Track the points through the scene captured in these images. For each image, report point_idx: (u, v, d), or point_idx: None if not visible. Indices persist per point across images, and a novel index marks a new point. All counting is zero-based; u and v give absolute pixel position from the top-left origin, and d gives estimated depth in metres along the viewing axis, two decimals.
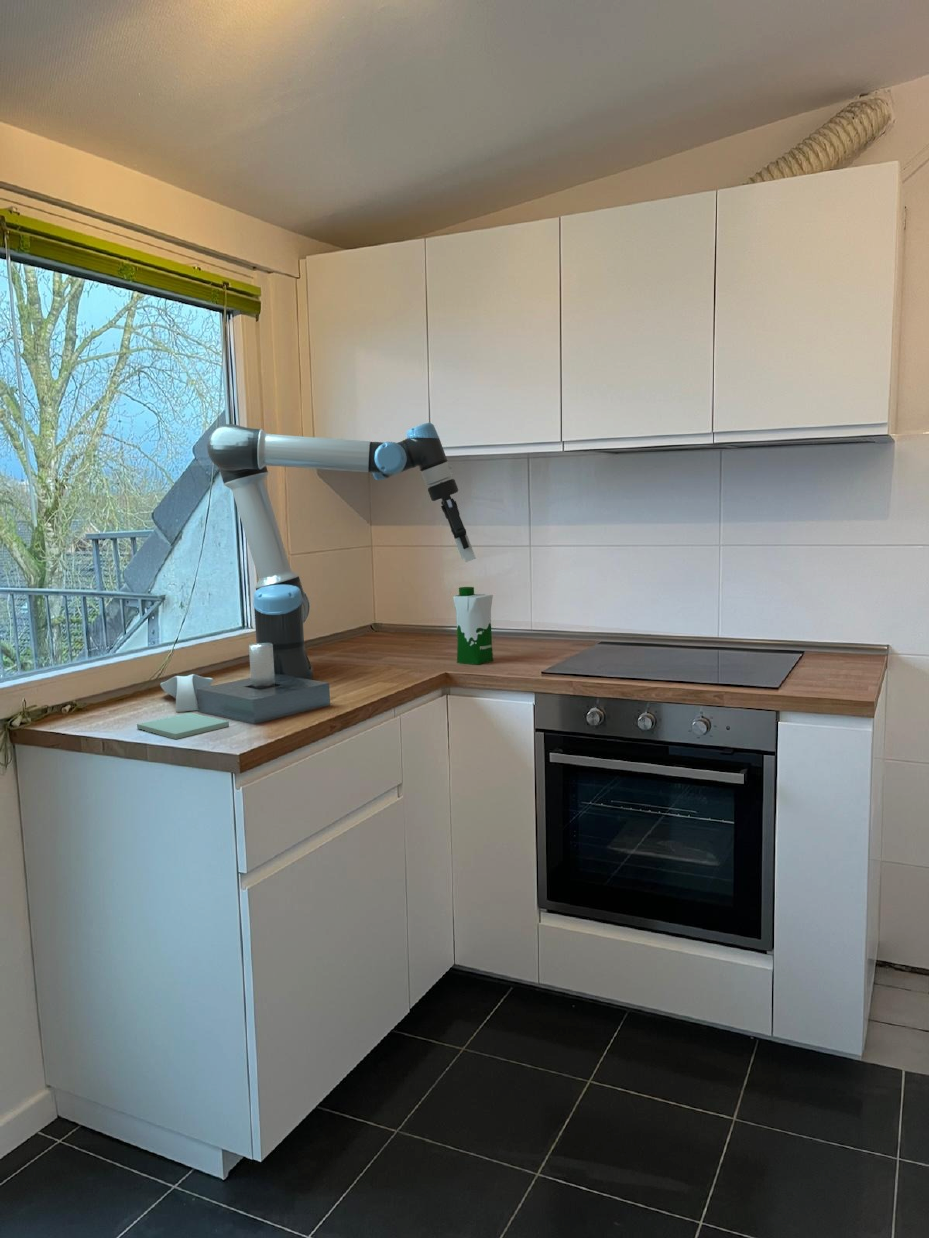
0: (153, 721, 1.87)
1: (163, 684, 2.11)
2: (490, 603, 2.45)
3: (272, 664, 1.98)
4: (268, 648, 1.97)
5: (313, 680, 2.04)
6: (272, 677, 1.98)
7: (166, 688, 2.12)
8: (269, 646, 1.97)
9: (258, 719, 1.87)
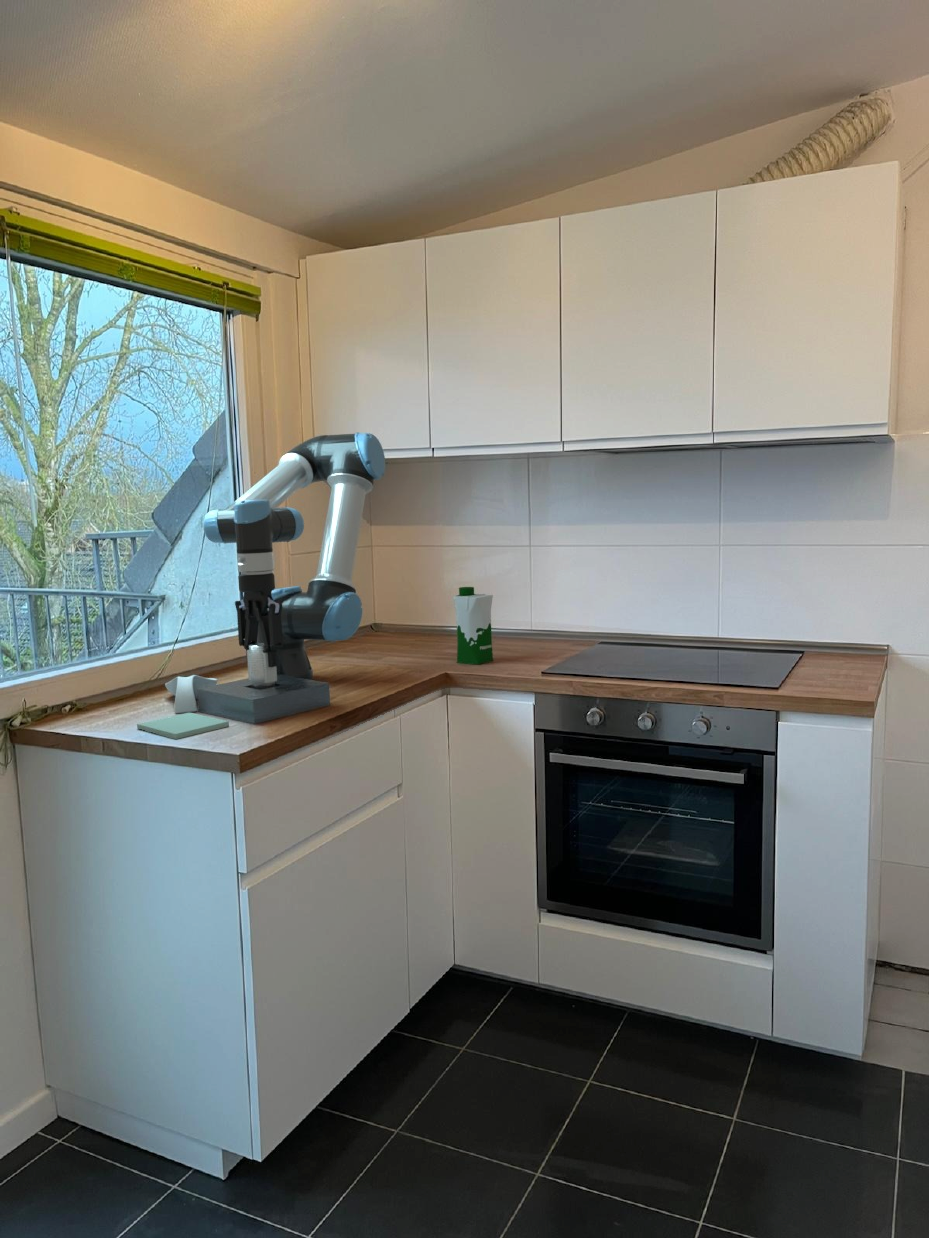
0: (153, 721, 1.87)
1: (167, 684, 2.11)
2: (490, 603, 2.45)
3: None
4: None
5: (313, 680, 2.04)
6: None
7: (170, 689, 2.11)
8: None
9: (258, 719, 1.87)
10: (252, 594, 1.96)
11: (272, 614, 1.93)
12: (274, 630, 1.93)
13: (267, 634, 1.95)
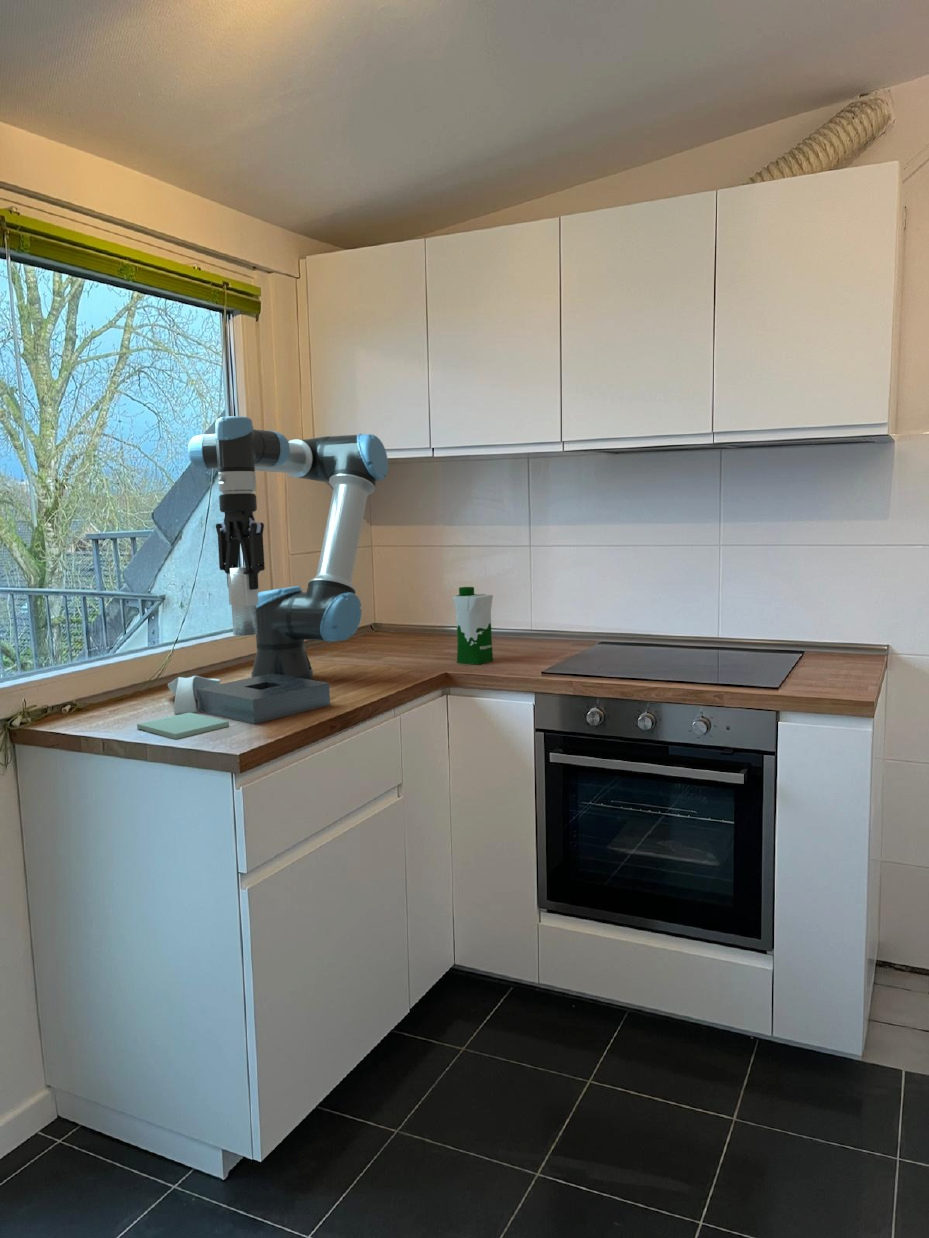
0: (153, 721, 1.87)
1: (169, 685, 2.10)
2: (490, 603, 2.45)
3: None
4: None
5: (313, 680, 2.04)
6: None
7: (172, 689, 2.10)
8: None
9: (258, 719, 1.87)
10: (233, 515, 1.91)
11: (253, 534, 1.88)
12: (255, 550, 1.88)
13: (248, 556, 1.90)
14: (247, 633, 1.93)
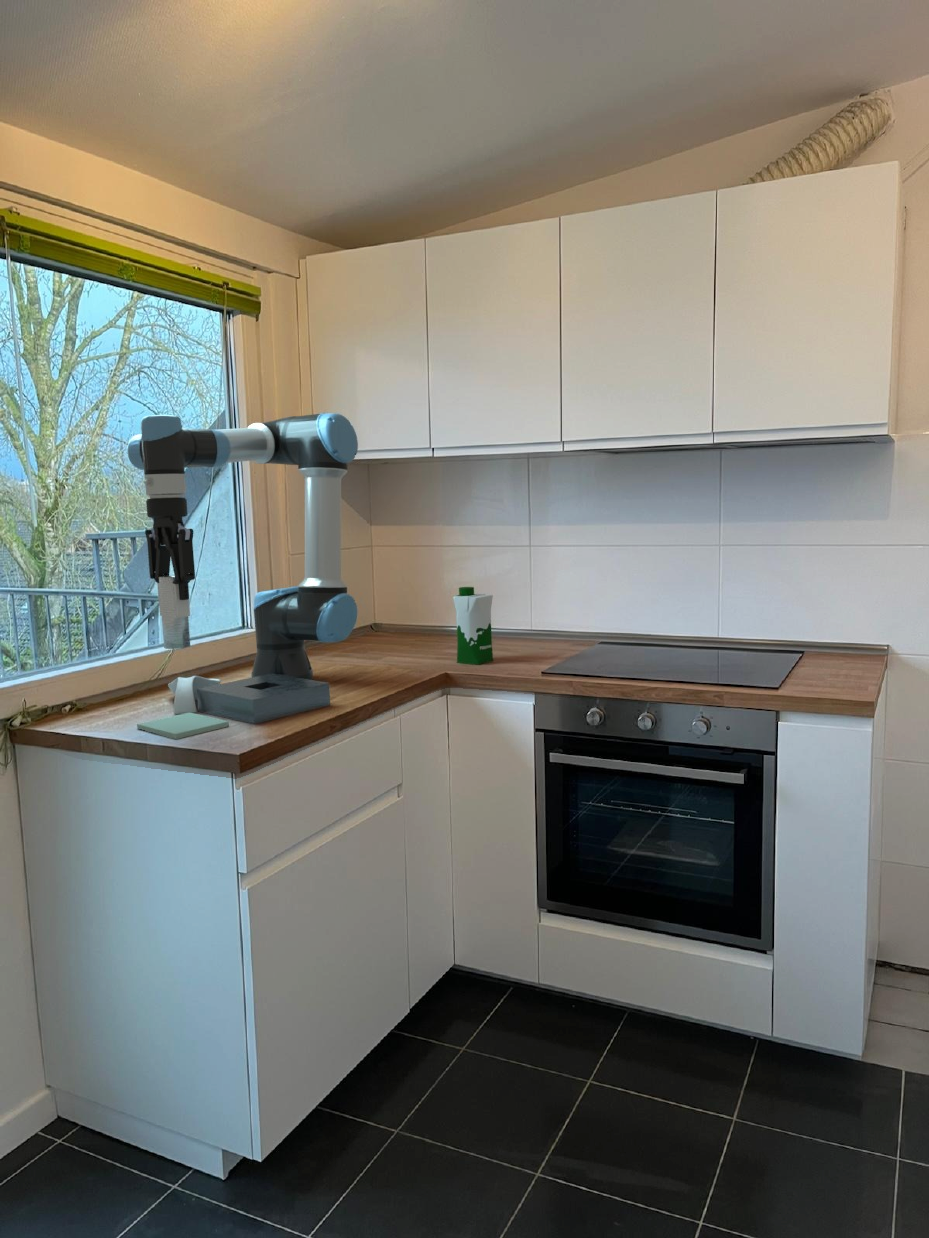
0: (153, 721, 1.87)
1: (169, 685, 2.10)
2: (490, 603, 2.45)
3: None
4: None
5: (313, 680, 2.04)
6: None
7: (172, 689, 2.10)
8: None
9: (258, 719, 1.87)
10: (162, 520, 1.79)
11: (182, 541, 1.76)
12: (184, 559, 1.76)
13: (178, 564, 1.78)
14: (178, 646, 1.81)
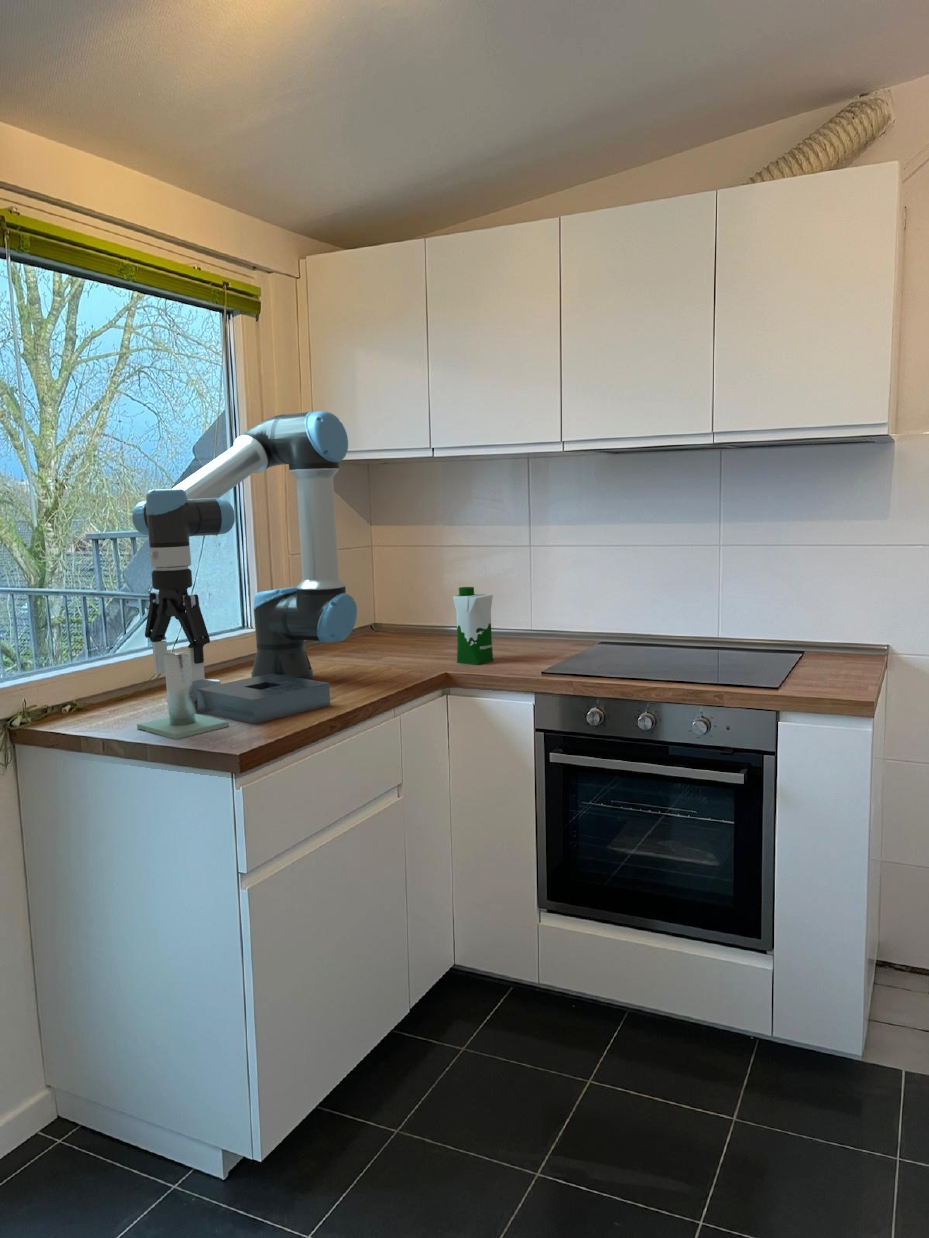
0: (153, 721, 1.87)
1: None
2: (490, 603, 2.45)
3: None
4: (184, 657, 1.82)
5: (313, 680, 2.04)
6: (190, 688, 1.83)
7: None
8: (185, 655, 1.82)
9: (258, 719, 1.87)
10: (167, 592, 1.81)
11: (189, 607, 1.77)
12: (195, 623, 1.76)
13: (189, 629, 1.78)
14: (184, 723, 1.83)
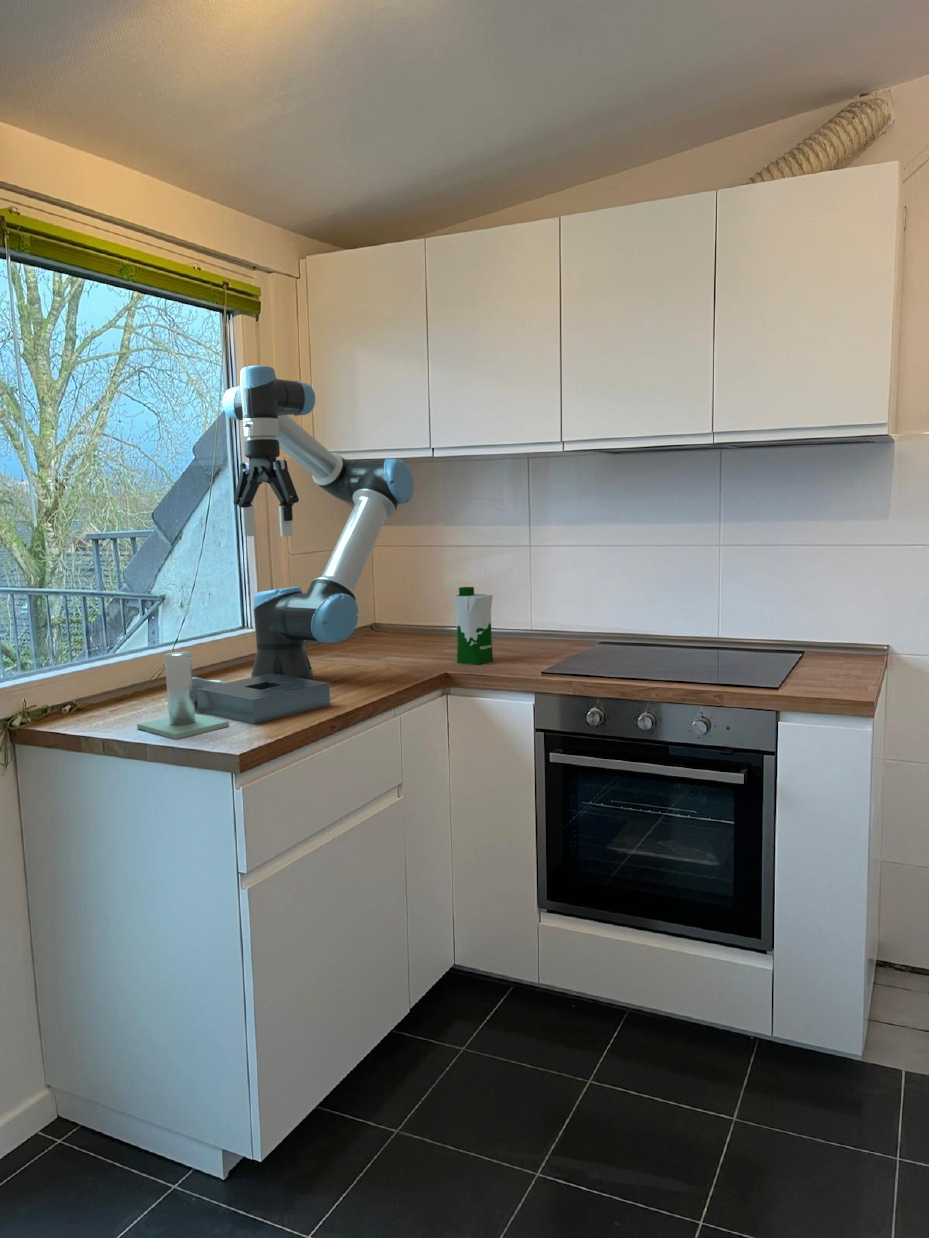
0: (153, 721, 1.87)
1: None
2: (490, 603, 2.45)
3: (190, 674, 1.83)
4: (185, 657, 1.82)
5: (313, 680, 2.04)
6: (190, 689, 1.83)
7: None
8: (186, 655, 1.82)
9: (258, 719, 1.87)
10: (257, 460, 2.02)
11: (279, 470, 1.98)
12: (285, 484, 1.98)
13: (279, 490, 1.99)
14: (184, 723, 1.83)
